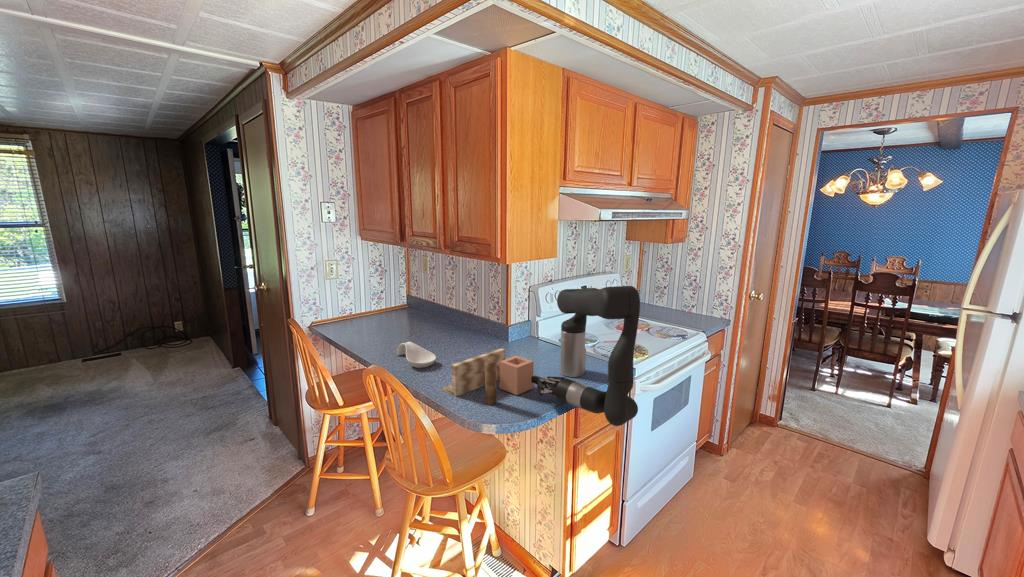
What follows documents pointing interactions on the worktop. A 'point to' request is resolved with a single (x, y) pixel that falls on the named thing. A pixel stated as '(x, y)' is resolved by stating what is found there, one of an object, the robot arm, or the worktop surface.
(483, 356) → the backstop wall
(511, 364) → the socket block
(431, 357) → the spoon rest
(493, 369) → the dowel
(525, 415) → the worktop surface
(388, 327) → the worktop surface
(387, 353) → the worktop surface
